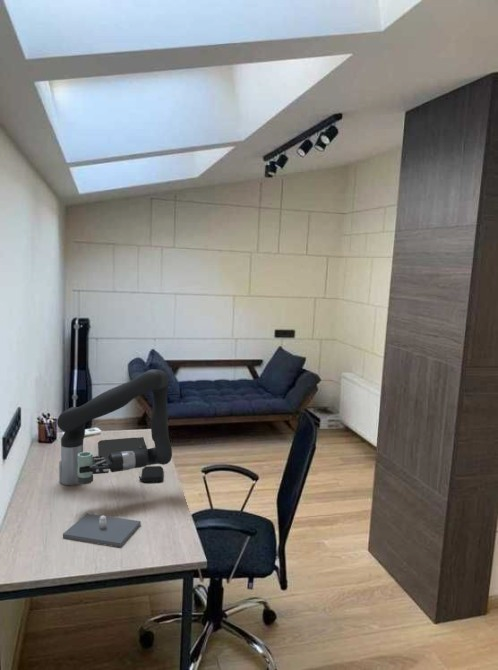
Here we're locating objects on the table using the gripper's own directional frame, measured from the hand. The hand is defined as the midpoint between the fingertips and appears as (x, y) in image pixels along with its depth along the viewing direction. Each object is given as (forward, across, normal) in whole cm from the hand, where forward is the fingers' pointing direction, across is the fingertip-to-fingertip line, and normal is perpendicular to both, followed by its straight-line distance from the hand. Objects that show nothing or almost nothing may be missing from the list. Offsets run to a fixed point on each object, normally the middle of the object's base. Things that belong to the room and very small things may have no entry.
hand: (78, 467), depth 193 cm
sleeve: (-3, 0, +6) cm, 7 cm away
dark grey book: (-30, -54, +19) cm, 65 cm away
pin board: (-5, +19, +18) cm, 27 cm away
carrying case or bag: (-35, -22, +19) cm, 46 cm away
